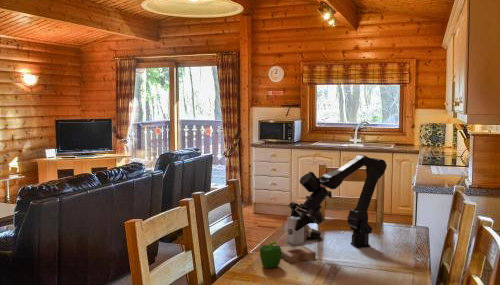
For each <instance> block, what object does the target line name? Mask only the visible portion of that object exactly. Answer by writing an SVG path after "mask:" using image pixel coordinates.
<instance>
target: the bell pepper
mask: <svg viewBox="0 0 500 285" xmlns="http://www.w3.org/2000/svg"><path fill="white" fill-rule="evenodd" d="M277 243H278V242H277V241H272V242H270V243H269V244H262V245H261V246H260V248H259V257H260V261H261V264H262V266H263V268H265V269H273V268H278V267H279V265H280V262H281V259H282V258H281V252H282V251H281V248H280V247H281V246H280V245H277Z"/></svg>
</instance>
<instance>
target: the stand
mask: <svg viewBox="0 0 500 285" xmlns="http://www.w3.org/2000/svg"><path fill="white" fill-rule="evenodd" d="M280 248H281V251H282V252H281V259H283V260H285V261H286V262H288V263H289V264H291V263H297V262H302V261H307V260H308V261H309V260H315V259H316V256H317V255H316V254H317V253H316V251H313V250H311V249H310V248H308V247H306V246H305V245H303V246H297V247H292V246H290V245H287V246H286V245H285V246H280Z"/></svg>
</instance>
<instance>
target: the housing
mask: <svg viewBox="0 0 500 285" xmlns="http://www.w3.org/2000/svg"><path fill="white" fill-rule="evenodd" d="M300 218H301V217H300V216H292V217H291V216H287V217H286V219H287V220H286V225H287V226H286V238H287V239H286V240H285V244H286V245H287V246H292V247H297V246H306V245H307V244H306V242H305V240H304V227H303V228H301V229H300V230H298V231H296V230H295V228H296V226H297V224H298V222H299V220H300Z"/></svg>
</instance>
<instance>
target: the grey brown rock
mask: <svg viewBox="0 0 500 285" xmlns="http://www.w3.org/2000/svg"><path fill="white" fill-rule="evenodd" d="M321 234H322V233H321V231H320V230H317V229H315V228H312V227H310V226H309V224H307V225H306V226H304V242H305V241H307V238H312V239H317V240H318V239H320V238H321Z"/></svg>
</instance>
